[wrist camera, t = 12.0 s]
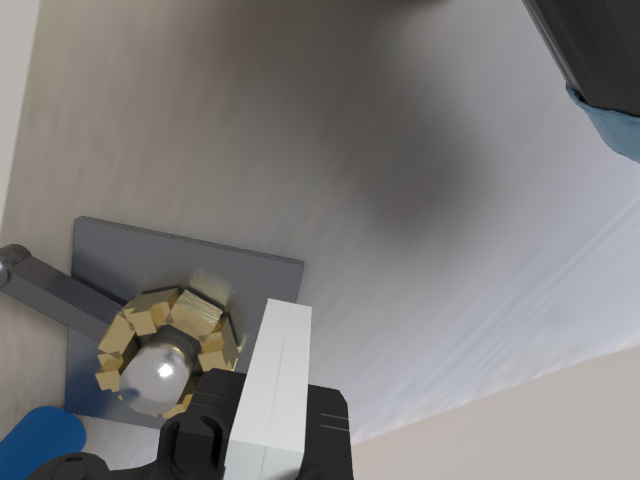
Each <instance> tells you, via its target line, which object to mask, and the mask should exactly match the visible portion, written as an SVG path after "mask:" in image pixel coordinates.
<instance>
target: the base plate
mask: <svg viewBox="0 0 640 480" xmlns="http://www.w3.org/2000/svg"><path fill="white" fill-rule="evenodd" d="M303 268H304V262H303V261H298V260H293V259H288V258H283V257H279V256H274V255H269V254H264V253H259V252H254V251H249V250H245V249H240V248H235V247H230V246H225V245H220V244H216V243H211V242H206V241H201V240H196V239H191V238H187V237H182V236H177V235H172V234H167V233H162V232H157V231H153V230H148V229H143V228H138V227H133V226H128V225H124V224H119V223H114V222H109V221H104V220H99V219H94V218H90V217H85V216H81V217H79V218H77V219H75V227H74V245H73V263H72V278H73V279H75V280H77V281H78V282H80V283H82V284H84V285H86V286H87V287H89V288H91V289H93V290H95V291H97V292H98V293H100V294H102V295H104V296H106V297H107V298H109V299H111V300H113V301H115V302H117V303H118V304H120V305H122V306H124V307H125V305H126V304H127V303H128V302H129V301H130V300H131V301H132V300H133V299H134V298H135V297H136V296H140V295H145V294H150V293H155V292H160V291H165V290H170V289H175V288H178V291H179V294H180V296H181V295H182V293H183V292H184V291H185V290H187V291H189V292H191V293H193V294H194V295H196V296H198V297H200V298H201V299H203V300H205V301H207V302H208V303H210V304H212V305H214V306H215V307H217V308H219V309H221V310H222V313H221V315H220V318H223V317H228V320H229V323H230V326H231V330H232V333H233V336H234V340H235V343H236V346H237V350H238V356H237V359H238V360H237V363H236V366H235V369H234V372H240V373H245V374H247V373H248V370H249V366H250V363H251V359H252V355H253V352H254V348H255V345H256V341H257V338H258V334H259V330H260V327H261V323H262V320H263V316H264V312H265V309H266V305H267V302H268V298H270V299H275V300H280V301H284V302H289V303H294V304H296V300H297V295H298V291H299V286H300V282H301V277H302V272H303ZM135 342H136V345H137V347H138V350H139V352H138V353H137V354H136V356H135V357H134V358H133V360H132V361H131V362H130V364H129V365H128V366H127V368H126V369H125V370H124V372H123V373H122V375H121V377H120V379H119V391H117V392H112V390H111V389H106V390H101V387H100V385H99V383H98V380H97V378H96V375H95V374H96V372H97V371H98V370H99V369H100V368H101V367H102V365H101V363H100V361H99V358H98V356H97V355H98V354H99V353H100V352H101V351H102V350H100V349H98V347H99V345H100V343H101V342H100V343H98V342H96V341H94V340H92V339H90V338H88V337H86V336H84V335H83V334H81V333H79V332H77V331H75V330H73V329H71V328H69V334H68V352H67V370H66V387H65V405H64V412H70V413H75V414H81V415H86V416H92V417H97V418H103V419H108V420H114V421H119V422H125V423H130V424H136V425H141V426H147V427H152V428H158V429H161V427H162V426H163V424H164V423H165V422H166V421H167V420H168V418H166V419H164V418H163V415H162V413H165V412H167V411H169V410H171V409H172V408H173V407H174V406H175V405H176V403H177V402H178V400H179V398H180V396H181V394H182V392H183V390H184V387H185V385H186V383H187V381H188V379H189V377H195V376H200V375H202V374H203V369H202V366H201V363H200V360H199V357H198V354H199V352H200V350H201V348H202V347H201V344H200V341H199V340H197V339H195V338H193V337H192V336H190V335H188V334H186V333H184V332H183V331H181V330H179V329H177V328H175V327H174V326H172V325H170V324H166V325H161V327H160V328H159V330H158V331H157V332H156V333H151V334H146V335H140V336H138V335H136V337H135ZM119 395H121V397H122V399H123V400H124V401H123V400H121V399H119V398H118V397H119ZM152 415H158V416H157V417H154V416H152Z"/></svg>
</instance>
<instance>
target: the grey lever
mask: <svg viewBox="0 0 640 480" xmlns="http://www.w3.org/2000/svg"><path fill="white" fill-rule="evenodd" d="M0 291H2V292H4V293H5V294H7V295H9V296H11V297H13V298H15V299H17V300H19V301H20V302H22V303H24V304H26V305H28V306H30V307H32V308H34V309H36V310H37V311H39V312H41V313H43V314H45V315H47V316H49V317H51V318H52V319H54V320H56V321H58V322H60V323H62V324H64V325H66V326H68V327H69V328H71V329H73V330H75V331H77V332H79V333H81V334H83V335H84V336H86V337H88V338H90V339H92V340H94V341H96V342H98V343H100V342H101V343H100V345H99V347H98V349H100V350H102V351H101V352H100V353H99V354H98V355H97V356H98V358H99V361H100V363H101V365H102V367H101V368H100V369H99V370H98V371H97V372H96V374H95V375H96V378H97V380H98V383H99V385H100V387H101V390H106V389H111V390H112V392H117V391H119V379H120V377H121V375H122V373H123V372H124V370H125V369H126V368H127V366H128V365H129V364H130V362H131V361H132V360H133V358H134V357H135V356H136V354H137V353H138V352H139V350H138V347H137V345H136V342H135V337H136V335H138V336H140V335H146V334H151V333H156V332H157V331H158V330H159V328H160V327H161V325H166V324H170V325H172V326H174V327H175V328H177V329H179V330H181V331H183V332H184V333H186V334H188V335H190V336H192V337H193V338H195V339H197V340H199V341H200V344H201V347H202V348H201V350H200V352H199V354H198V357H199V360H200V363H201V366H202V369H203V374H202V375H200V376H195V377H189V379H188V381H187V383H186V385H185V387H184V390H183V392H182V394H181V396H180V398H179V400H178V402H177V403H176V405H175V406H174V407H173V408H172V409H171V410H169V411H167V412H165V413H162V415H163V418H164V419H166V418H168V419H169V418H171V417H173V416H174V415H176V414H178V413H182V412H186V409H187V407H188V405H189V404H190V400H191V398H192V396H193V394H194V392H195V389H196V387H197V385H198V382H199V380H200V378H201V377H202V376H203V375H204V374H206V373H207V372H208V371H209V370H211V369H212V368H219V369H224V370H229V371H234V369H235V366H236V363H237V360H238V359H237V356H238V350H237V346H236V343H235V340H234V336H233V333H232V330H231V326H230V323H229V320H228V317H223V318H220V315H221V313H222V310H221V309H219V308H217V307H215V306H214V305H212V304H210V303H208V302H207V301H205V300H203V299H201V298H200V297H198V296H196V295H194V294H193V293H191V292H189V291H187V290H185V291H184V292H183V293H182V295H181V296H180V294H179V291H178V288H175V289H170V290H165V291H160V292H155V293H150V294H145V295H140V296H136V297H135V298H134V299H133V300H132V301H131V300H130V301H129V302H128V303H127V304H126V305H125V307H124V306H122V305H120V304H118V303H117V302H115V301H113V300H111V299H109V298H107V297H106V296H104V295H102V294H100V293H98V292H97V291H95V290H93V289H91V288H89V287H87V286H86V285H84V284H82V283H80V282H78V281H77V280H75V279H73V278H71V277H69V276H68V275H66V274H64V273H62V272H60V271H58V270H57V269H55V268H53V267H51V266H49V265H48V264H46V263H44V262H42V261H40V260H38V259H37V258H35V257H33V256H32V255H31V253H30V252H29V251H28V250H27V249H26V248H25V247H23V246H21V245H18V244H9V245H7V246H4V247H2V248H0ZM118 398H119V399H121V400H123V399H122V397H121V395H119V397H118ZM123 401H124V400H123ZM152 416H154V417H157V416H158V415H152Z"/></svg>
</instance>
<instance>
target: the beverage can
mask: <svg viewBox="0 0 640 480" xmlns="http://www.w3.org/2000/svg"><path fill="white" fill-rule="evenodd" d="M85 443H86V431H85V428H84V426H83V424H82V423H81V421H80V420H79V419H78V418H77V417H76V416H75V415H74V414H73V413H70V412H64V409H62V408H59V407H54V406H43V407H38V408H36V409H34V410H32V411H30V412H29V413H28V414H27V415H26V416H25V417H24V418H23V419H22V420H21V421H20V422H19V423H18V424H17V425H16V426H15V428H14V429H13V430H12V431H11V432H10V433H9V434H8V435H7V436H6V437H5V438H4V439H3V440H2V441H1V442H0V480H24V479H25V478H26V477H28V476H29V475H30V474H31V473H32V472H33V471H35V470H36V469H37V468H38V467H39V466H41V465H42V464H44V463H46V462H47V461H49V460H50V459H52V458H54V457H57V456H60V455H63V454H66V453H75V452H81V450H82V449H83V447H84V445H85Z"/></svg>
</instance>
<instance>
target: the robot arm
mask: <svg viewBox="0 0 640 480" xmlns="http://www.w3.org/2000/svg"><path fill="white" fill-rule="evenodd" d="M522 2H523V4H524V5H525V7H526V9H527V11H528V13H529V15H530V16H531V18H532V20H533V22H534V24H535V26H536V27H537V29H538V31H539V33H540V35H541V37H542V38H543V40H544V42H545V44H546V46H547V48H548V49H549V51H550V53H551V55H552V57H553V59H554V60H555V62H556V64H557V66H558V68H559V69H560V71H561V73H562V75H563V77H564V79H565V80H566V90H567V92H568V94H569V96H570V98H571V99H572V100H573V101H574V102H575V103H576V104H577V105H578V106H579V107H581V108H582V109H584V111H585V112H586V114H587V115H588V117H589V119H590V120H591V122H592V123H593V125H594V126H595V128H596V130H597V131H598V133H599V134H600V136H601V138H602V139H603V140H604V142H605V143H606V144H607V145H608V146H609V147H610V148H611V149H612V150H614V151H615V152H616V153H618V154H620V155H623V156H627V157H628V158H630V159H631V160H633V161H636V162H638V163H640V0H522ZM311 315H312V307H309V306H304V305H299V304H294V303H289V302H284V301H280V300H275V299H270V298H268V302H267V305H266V309H265V312H264V316H263V320H262V323H261V327H260V330H259V334H258V338H257V341H256V345H255V348H254V352H253V355H252V359H251V363H250V366H249V370H248V373H247V374H245V373H240V372H234V371H229V370H224V369H219V368H212V369H211V370H209V371H208V372H207V373H206V374H204V375H203V376H202V377H201V378H200V380H199V382H198V385H197V387H196V389H195V392H194V394H193V396H192V398H191V400H190V404H189V405H188V407H187V409H186V412H182V413H178V414H176V415H174V416H173V417H171V418H169V419H168V420H167V421H166V422H165V423H164V424H163V426H162V427H161V430H160V438H159V445H158V453H157V460H155V461H154V462H152V463H150V464H147V465H144V466H142V467H137V468H132V469H124V470H113V471H110V470H109V468H108V466H107V464H106V462H105V461H104V460H102V459H101V458H100V457H98V456H97V455H94V454H90V453H85V452H75V453H66V454H63V455H60V456H57V457H54V458H52V459H50V460H49V461H47V462H46V463H44V464H42V465H41V466H39V467H38V468H37V469H36V470H35V471H33V472H32V473H31V474H30V475H29V476H28V477H26V478H25V479H24V480H354V478H353V469H352V457H351V444H350V432H349V420H348V407H347V402H346V401H345V399H344V397H343V396H342V394H341V393H340V391H339V390H336V389H331V388H325V387H320V386H315V385H310V384H308V371H309V352H310V334H311Z"/></svg>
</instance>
